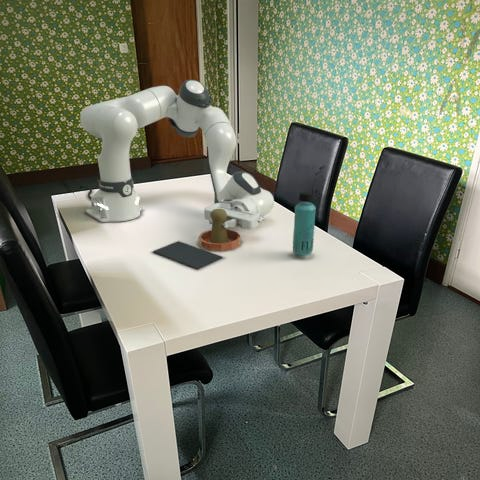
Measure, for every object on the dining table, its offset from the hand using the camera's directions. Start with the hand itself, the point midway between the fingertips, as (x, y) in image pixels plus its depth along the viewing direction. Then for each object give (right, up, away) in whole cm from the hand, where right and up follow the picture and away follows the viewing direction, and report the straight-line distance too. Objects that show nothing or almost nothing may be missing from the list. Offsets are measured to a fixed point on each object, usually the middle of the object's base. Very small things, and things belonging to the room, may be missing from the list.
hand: (217, 223), depth 151 cm
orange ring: (+1, -6, +4) cm, 7 cm away
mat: (-9, -11, -4) cm, 15 cm away
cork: (+1, -5, +4) cm, 7 cm away
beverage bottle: (+27, -11, -5) cm, 30 cm away
